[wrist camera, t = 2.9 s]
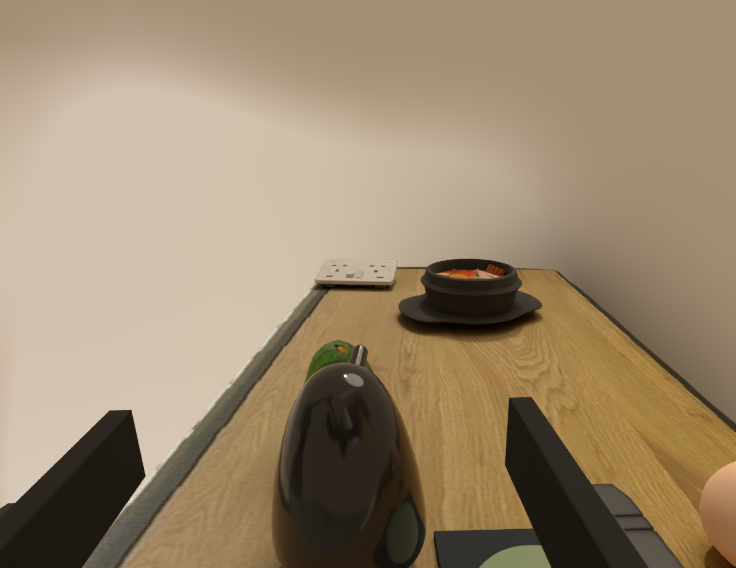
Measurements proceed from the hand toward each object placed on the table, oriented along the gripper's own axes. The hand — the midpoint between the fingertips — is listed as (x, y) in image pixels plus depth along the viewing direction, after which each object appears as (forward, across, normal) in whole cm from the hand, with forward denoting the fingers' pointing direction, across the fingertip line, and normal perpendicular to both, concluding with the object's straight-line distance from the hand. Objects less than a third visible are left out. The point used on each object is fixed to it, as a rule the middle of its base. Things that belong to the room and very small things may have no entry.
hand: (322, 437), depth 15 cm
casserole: (+59, +19, -18) cm, 64 cm away
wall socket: (+80, -1, -18) cm, 82 cm away
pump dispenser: (+11, 0, -18) cm, 21 cm away
